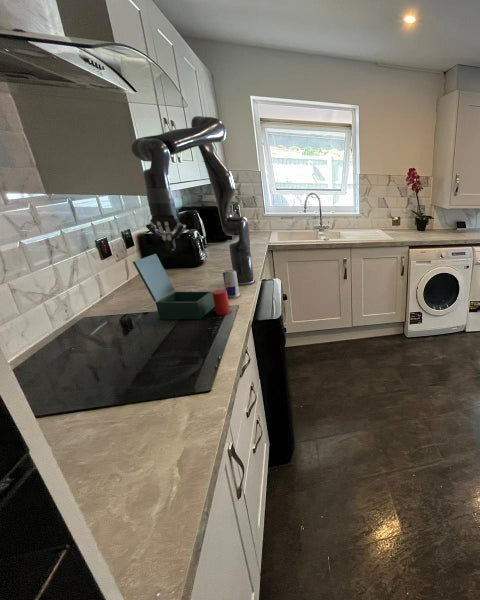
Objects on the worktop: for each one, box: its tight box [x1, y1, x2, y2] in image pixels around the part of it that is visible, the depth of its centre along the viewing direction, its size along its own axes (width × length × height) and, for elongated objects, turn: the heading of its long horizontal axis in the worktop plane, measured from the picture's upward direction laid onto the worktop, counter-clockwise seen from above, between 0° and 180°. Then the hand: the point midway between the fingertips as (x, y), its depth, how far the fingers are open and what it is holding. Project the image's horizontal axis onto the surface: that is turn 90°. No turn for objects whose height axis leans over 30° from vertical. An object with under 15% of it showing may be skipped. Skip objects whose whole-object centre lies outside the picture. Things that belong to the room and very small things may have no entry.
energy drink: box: [222, 269, 240, 299], centre depth 145 cm, size 5×5×12 cm
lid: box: [132, 253, 176, 302], centre depth 122 cm, size 16×13×1 cm
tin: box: [211, 289, 231, 316], centre depth 128 cm, size 5×5×9 cm
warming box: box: [155, 290, 215, 320], centre depth 127 cm, size 15×13×7 cm
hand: (171, 250), depth 119 cm, fingers closed
